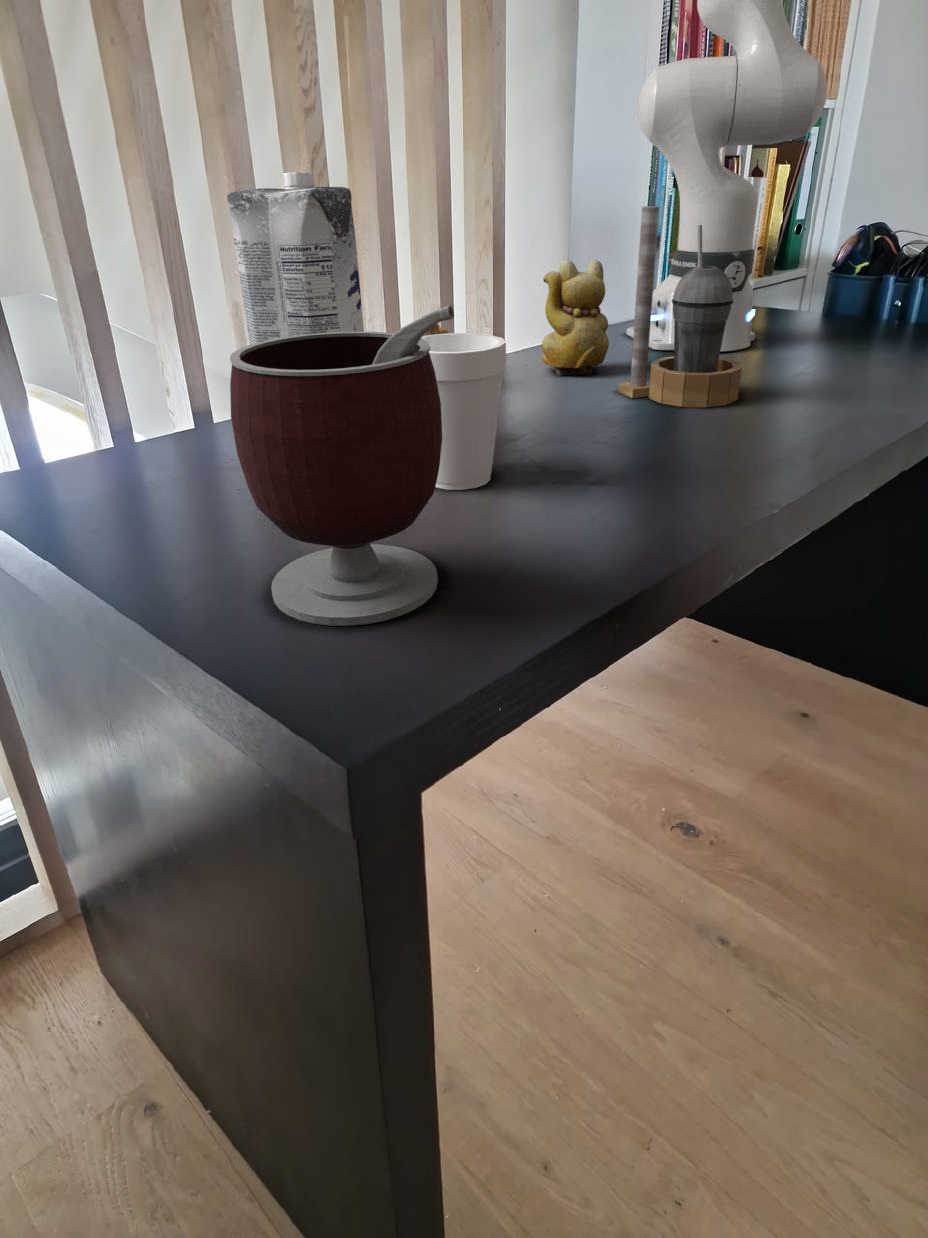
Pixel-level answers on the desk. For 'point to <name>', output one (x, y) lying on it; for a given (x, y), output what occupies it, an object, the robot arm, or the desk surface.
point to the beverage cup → (700, 316)
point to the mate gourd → (342, 463)
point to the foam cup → (467, 404)
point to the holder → (663, 378)
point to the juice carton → (297, 259)
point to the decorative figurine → (575, 319)
